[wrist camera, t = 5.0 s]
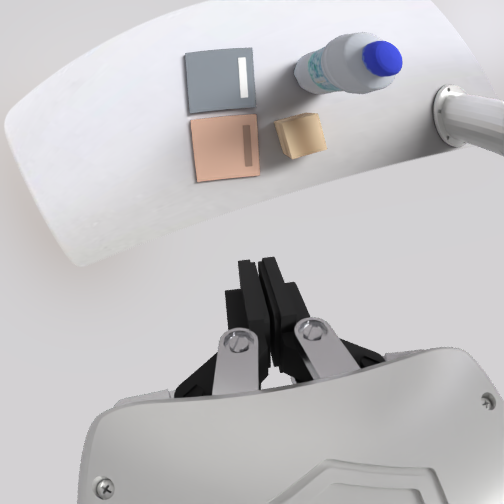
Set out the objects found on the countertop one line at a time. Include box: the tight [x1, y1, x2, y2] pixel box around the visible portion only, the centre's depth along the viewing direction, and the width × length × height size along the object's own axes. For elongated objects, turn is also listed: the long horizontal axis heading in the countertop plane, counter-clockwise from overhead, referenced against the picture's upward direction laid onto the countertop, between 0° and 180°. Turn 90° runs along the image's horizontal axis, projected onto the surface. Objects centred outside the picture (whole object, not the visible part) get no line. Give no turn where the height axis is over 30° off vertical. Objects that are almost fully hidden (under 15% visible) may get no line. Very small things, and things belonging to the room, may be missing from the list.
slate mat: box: [185, 48, 256, 113], centre depth 32 cm, size 9×9×1 cm
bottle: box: [294, 32, 402, 94], centre depth 24 cm, size 7×7×20 cm
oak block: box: [274, 113, 327, 159], centre depth 35 cm, size 5×5×5 cm
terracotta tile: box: [191, 114, 260, 182], centre depth 37 cm, size 9×9×1 cm
